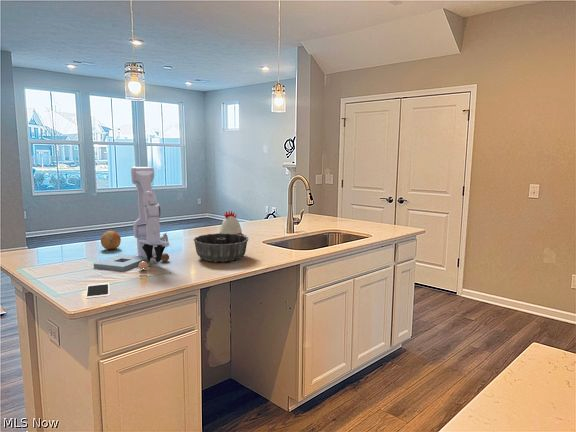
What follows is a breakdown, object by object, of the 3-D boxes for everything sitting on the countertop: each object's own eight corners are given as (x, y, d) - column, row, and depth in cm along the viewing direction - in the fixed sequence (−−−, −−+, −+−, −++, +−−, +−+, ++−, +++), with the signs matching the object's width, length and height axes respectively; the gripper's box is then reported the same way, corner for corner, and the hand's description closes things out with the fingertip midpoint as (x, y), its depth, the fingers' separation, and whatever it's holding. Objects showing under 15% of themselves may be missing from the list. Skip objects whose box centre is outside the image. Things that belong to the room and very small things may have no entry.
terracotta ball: (142, 268, 185) (142, 259, 184) (150, 269, 184) (149, 260, 183) (136, 271, 181) (136, 262, 180) (144, 272, 180) (144, 262, 179)
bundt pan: (259, 256, 209) (259, 236, 208) (225, 268, 187) (225, 246, 185) (218, 249, 223) (217, 231, 221) (182, 260, 200) (181, 239, 199)
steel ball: (153, 263, 192) (153, 254, 192) (160, 263, 191) (160, 255, 190) (148, 265, 188) (147, 256, 188) (155, 266, 187) (155, 257, 187)
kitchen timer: (217, 233, 268) (216, 210, 265) (237, 231, 273) (237, 209, 271) (223, 237, 255) (222, 213, 253) (244, 235, 261) (244, 211, 259)
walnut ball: (163, 260, 200) (163, 251, 199) (171, 260, 199) (170, 252, 198) (158, 262, 196) (158, 253, 195) (166, 262, 195) (165, 254, 194)
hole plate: (121, 258, 202) (121, 254, 202) (149, 261, 198) (149, 257, 197) (93, 267, 185) (93, 263, 185) (123, 271, 181) (123, 266, 180)
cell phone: (109, 284, 164) (109, 282, 164) (109, 296, 150) (109, 295, 150) (87, 286, 161) (87, 284, 161) (85, 299, 147) (85, 298, 147)
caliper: (166, 243, 237) (166, 232, 236) (168, 243, 237) (167, 232, 236) (138, 250, 219) (137, 239, 219) (139, 251, 219) (139, 239, 218)
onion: (104, 252, 214) (103, 233, 213) (98, 249, 222) (97, 230, 220) (123, 249, 220) (122, 231, 219) (117, 246, 228) (116, 228, 226)
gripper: (133, 232, 186) (135, 261, 188) (161, 234, 181) (163, 264, 184) (143, 229, 193) (145, 258, 195) (171, 231, 188) (172, 260, 190)
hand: (154, 261), depth 190 cm, fingers closed on steel ball, 4 cm apart
